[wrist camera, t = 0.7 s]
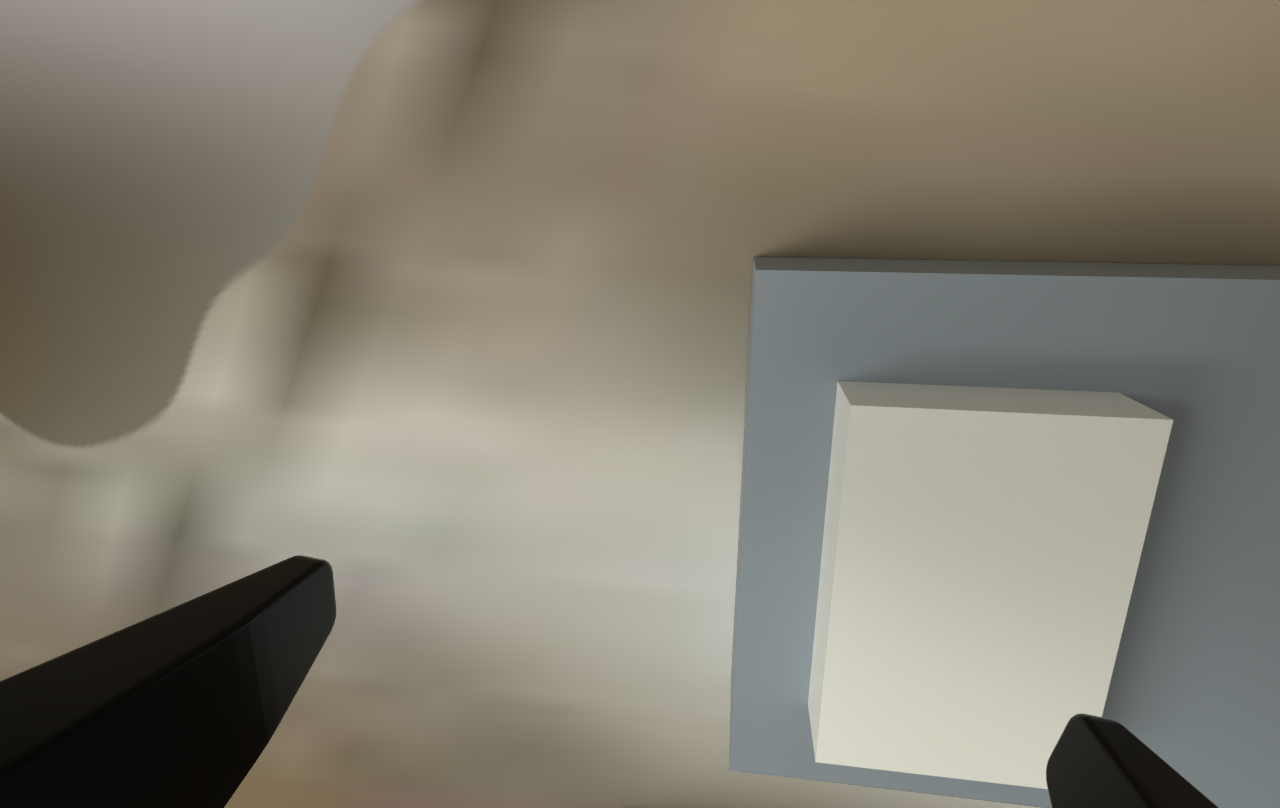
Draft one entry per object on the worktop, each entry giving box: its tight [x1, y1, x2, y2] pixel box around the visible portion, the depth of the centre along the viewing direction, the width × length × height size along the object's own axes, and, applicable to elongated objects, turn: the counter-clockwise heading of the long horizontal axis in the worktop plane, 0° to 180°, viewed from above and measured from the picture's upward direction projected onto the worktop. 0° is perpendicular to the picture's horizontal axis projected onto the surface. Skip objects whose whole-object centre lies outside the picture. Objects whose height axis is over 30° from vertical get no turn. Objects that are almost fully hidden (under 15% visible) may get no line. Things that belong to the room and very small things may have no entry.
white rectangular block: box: [808, 381, 1173, 789], centre depth 16 cm, size 9×6×2 cm, turn 179°
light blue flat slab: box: [729, 257, 1280, 808], centre depth 18 cm, size 14×14×4 cm
